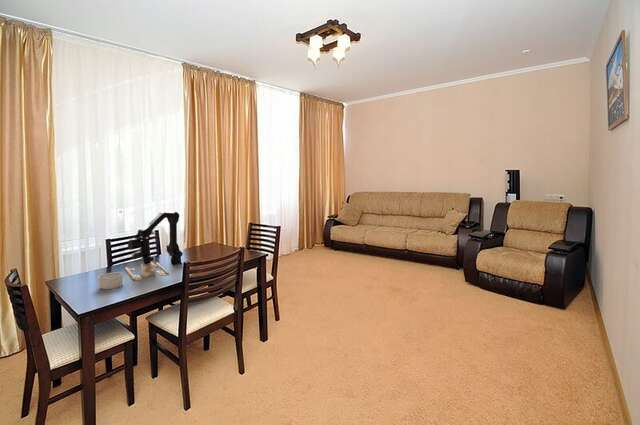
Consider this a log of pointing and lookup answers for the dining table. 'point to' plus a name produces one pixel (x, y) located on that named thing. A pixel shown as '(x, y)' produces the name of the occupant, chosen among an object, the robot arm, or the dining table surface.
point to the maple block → (148, 269)
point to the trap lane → (137, 277)
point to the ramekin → (110, 280)
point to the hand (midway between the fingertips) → (146, 268)
